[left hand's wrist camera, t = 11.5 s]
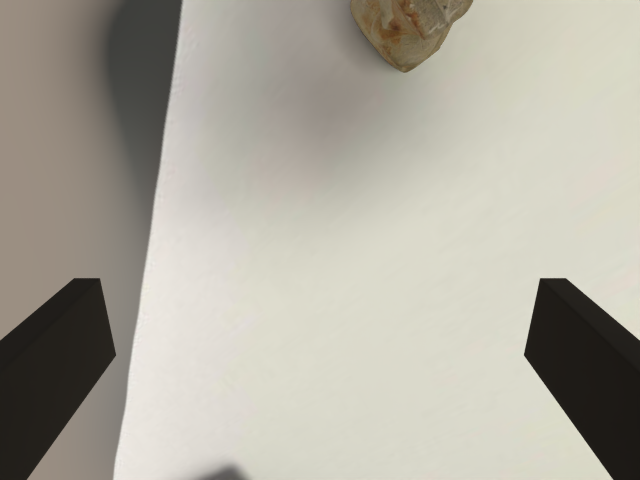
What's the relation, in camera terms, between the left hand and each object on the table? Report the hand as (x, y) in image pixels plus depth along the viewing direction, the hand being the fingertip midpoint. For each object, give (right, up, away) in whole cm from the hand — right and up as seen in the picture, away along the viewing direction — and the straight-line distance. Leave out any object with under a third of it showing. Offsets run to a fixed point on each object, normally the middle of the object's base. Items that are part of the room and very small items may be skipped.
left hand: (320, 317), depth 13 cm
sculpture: (+6, +20, +22) cm, 31 cm away
